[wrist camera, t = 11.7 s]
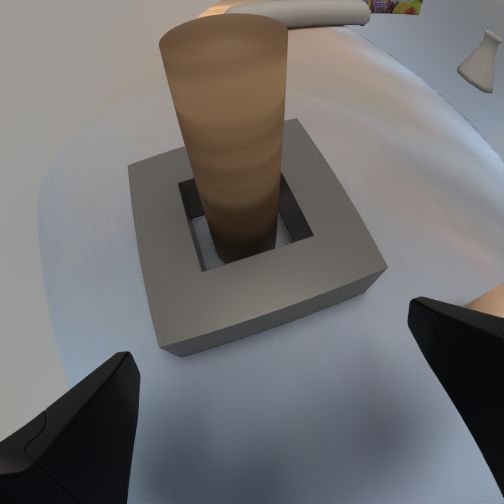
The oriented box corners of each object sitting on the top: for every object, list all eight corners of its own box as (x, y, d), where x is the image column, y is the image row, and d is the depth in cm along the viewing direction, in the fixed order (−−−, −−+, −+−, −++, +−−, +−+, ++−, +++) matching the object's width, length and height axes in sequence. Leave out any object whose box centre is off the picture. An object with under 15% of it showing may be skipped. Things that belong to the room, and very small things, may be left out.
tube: (230, 20, 30) (374, 11, 34) (217, 2, 31) (357, -6, 34) (229, 46, 35) (364, 30, 39) (216, 27, 36) (348, 13, 39)
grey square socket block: (364, 292, 18) (387, 267, 14) (180, 357, 17) (159, 347, 13) (293, 156, 23) (296, 118, 20) (145, 199, 22) (127, 165, 18)
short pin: (490, 347, 16) (535, 330, 11) (455, 374, 15) (503, 363, 11) (471, 300, 17) (513, 274, 13) (435, 322, 17) (478, 299, 12)
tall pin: (284, 258, 19) (311, 45, 7) (224, 277, 19) (166, 71, 6) (263, 208, 21) (261, 8, 8) (208, 225, 21) (154, 28, 8)
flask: (496, 91, 31) (516, 48, 22) (486, 98, 30) (508, 49, 21) (463, 66, 34) (480, 23, 25) (450, 70, 32) (467, 21, 23)
